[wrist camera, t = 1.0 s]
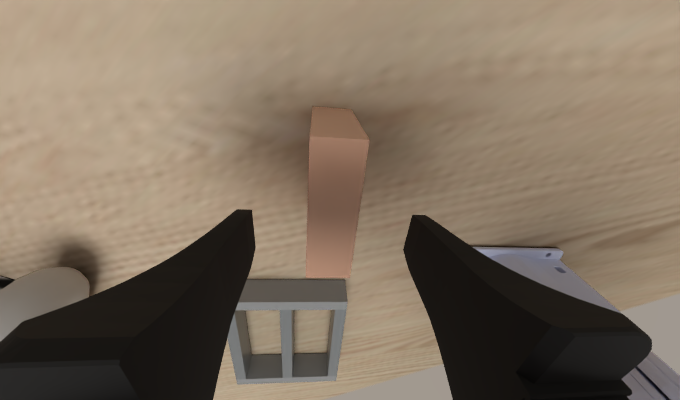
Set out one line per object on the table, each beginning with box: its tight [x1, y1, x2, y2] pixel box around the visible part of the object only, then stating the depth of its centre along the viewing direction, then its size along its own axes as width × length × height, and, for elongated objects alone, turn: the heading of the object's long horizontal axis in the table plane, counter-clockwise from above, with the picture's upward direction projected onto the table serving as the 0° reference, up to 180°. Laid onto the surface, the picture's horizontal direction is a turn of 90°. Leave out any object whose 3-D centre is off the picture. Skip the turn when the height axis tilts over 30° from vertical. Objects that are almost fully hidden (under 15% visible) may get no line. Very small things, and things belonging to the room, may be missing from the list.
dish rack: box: [227, 279, 347, 384], centre depth 26 cm, size 11×13×2 cm
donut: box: [0, 267, 90, 341], centre depth 18 cm, size 10×4×10 cm, turn 148°
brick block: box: [306, 106, 370, 278], centre depth 16 cm, size 2×8×7 cm, turn 175°
